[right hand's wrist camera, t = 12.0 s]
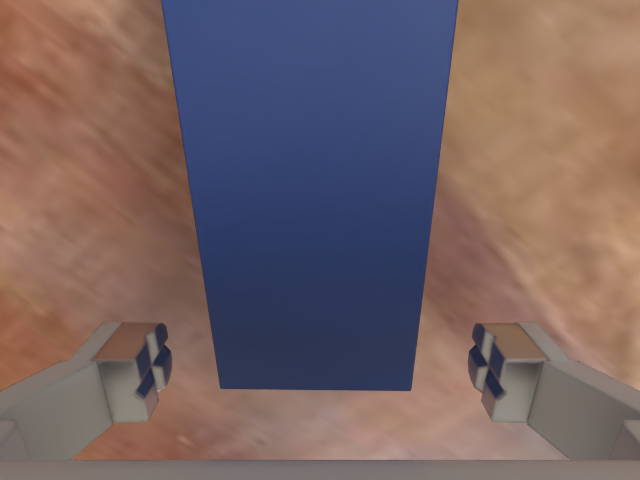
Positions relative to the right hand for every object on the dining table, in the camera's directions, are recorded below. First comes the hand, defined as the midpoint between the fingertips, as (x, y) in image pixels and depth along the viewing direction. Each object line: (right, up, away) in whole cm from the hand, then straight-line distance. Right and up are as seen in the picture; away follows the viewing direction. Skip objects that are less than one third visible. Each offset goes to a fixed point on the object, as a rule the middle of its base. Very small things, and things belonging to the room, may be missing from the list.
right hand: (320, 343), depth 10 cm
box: (0, +14, +5) cm, 15 cm away
